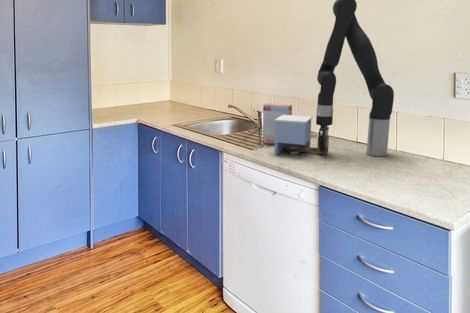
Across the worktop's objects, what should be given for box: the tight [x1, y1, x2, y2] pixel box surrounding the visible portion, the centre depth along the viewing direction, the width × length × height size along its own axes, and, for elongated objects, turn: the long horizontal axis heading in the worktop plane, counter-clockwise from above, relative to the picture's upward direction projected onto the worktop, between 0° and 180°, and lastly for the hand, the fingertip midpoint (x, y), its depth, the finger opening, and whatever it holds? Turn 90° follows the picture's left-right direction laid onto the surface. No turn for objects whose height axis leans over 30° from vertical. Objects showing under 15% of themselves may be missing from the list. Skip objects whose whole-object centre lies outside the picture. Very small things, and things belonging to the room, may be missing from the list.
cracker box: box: [262, 102, 293, 146], centre depth 223 cm, size 14×6×21 cm, turn 59°
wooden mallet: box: [287, 135, 330, 156], centre depth 206 cm, size 19×4×8 cm, turn 69°
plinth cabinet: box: [274, 114, 313, 156], centre depth 206 cm, size 15×15×17 cm
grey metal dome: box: [288, 149, 300, 156], centre depth 206 cm, size 5×5×2 cm
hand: (322, 150), depth 205 cm, fingers closed on wooden mallet, 4 cm apart
